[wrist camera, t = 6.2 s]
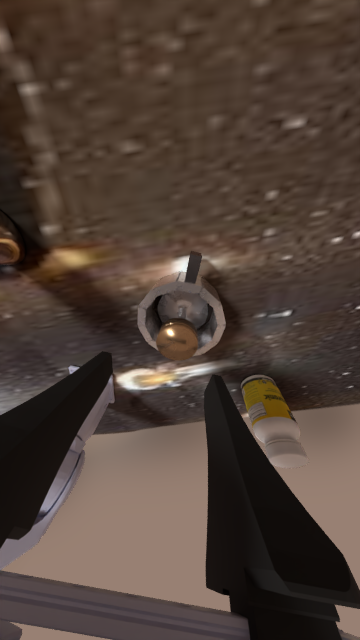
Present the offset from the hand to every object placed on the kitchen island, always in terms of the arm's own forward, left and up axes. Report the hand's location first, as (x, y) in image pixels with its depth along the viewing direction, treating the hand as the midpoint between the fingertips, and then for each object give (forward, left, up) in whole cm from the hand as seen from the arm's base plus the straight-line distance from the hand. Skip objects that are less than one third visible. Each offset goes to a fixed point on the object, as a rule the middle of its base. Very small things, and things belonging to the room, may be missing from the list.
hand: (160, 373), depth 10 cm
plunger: (+1, -1, -9) cm, 9 cm away
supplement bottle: (-10, -16, -10) cm, 21 cm away
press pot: (+2, -1, -10) cm, 10 cm away
